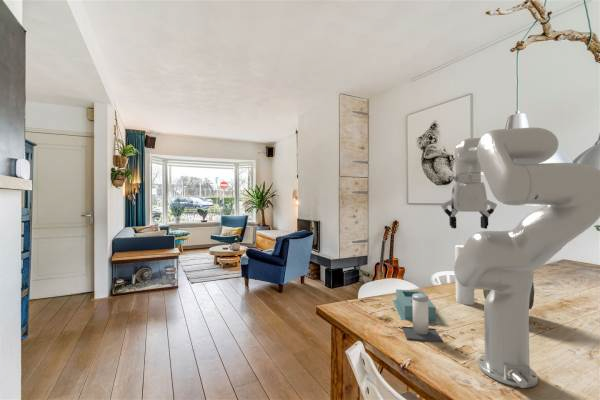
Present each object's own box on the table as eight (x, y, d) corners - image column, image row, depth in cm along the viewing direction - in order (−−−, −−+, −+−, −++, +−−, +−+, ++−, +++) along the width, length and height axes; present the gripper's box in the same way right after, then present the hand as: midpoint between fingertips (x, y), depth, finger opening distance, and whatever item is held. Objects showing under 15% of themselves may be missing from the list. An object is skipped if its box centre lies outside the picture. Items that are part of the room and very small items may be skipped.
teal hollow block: (441, 324, 100) (440, 308, 100) (401, 322, 102) (401, 306, 102) (425, 303, 120) (425, 289, 120) (392, 301, 123) (392, 288, 123)
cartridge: (430, 335, 91) (430, 299, 91) (415, 334, 92) (414, 298, 91) (426, 327, 96) (425, 293, 96) (411, 327, 97) (410, 293, 96)
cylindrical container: (477, 305, 117) (476, 248, 117) (459, 304, 119) (458, 247, 119) (470, 299, 124) (469, 245, 124) (453, 298, 126) (452, 244, 126)
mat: (442, 342, 88) (442, 340, 88) (407, 339, 89) (407, 338, 89) (432, 326, 98) (432, 325, 98) (400, 324, 100) (400, 323, 100)
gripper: (444, 178, 92) (445, 229, 92) (501, 177, 89) (502, 229, 89) (437, 180, 99) (438, 227, 99) (489, 179, 96) (490, 227, 96)
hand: (468, 228), depth 94 cm, fingers open, 9 cm apart
